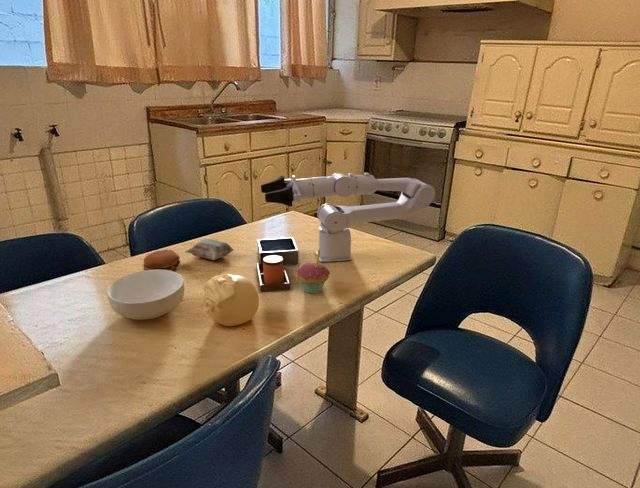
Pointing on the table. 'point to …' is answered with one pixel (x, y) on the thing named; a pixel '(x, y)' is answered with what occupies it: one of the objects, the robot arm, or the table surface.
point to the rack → (272, 286)
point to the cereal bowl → (146, 294)
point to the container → (273, 269)
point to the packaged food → (210, 249)
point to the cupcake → (313, 276)
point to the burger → (161, 260)
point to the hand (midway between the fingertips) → (263, 193)
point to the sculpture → (231, 299)
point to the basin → (279, 249)
